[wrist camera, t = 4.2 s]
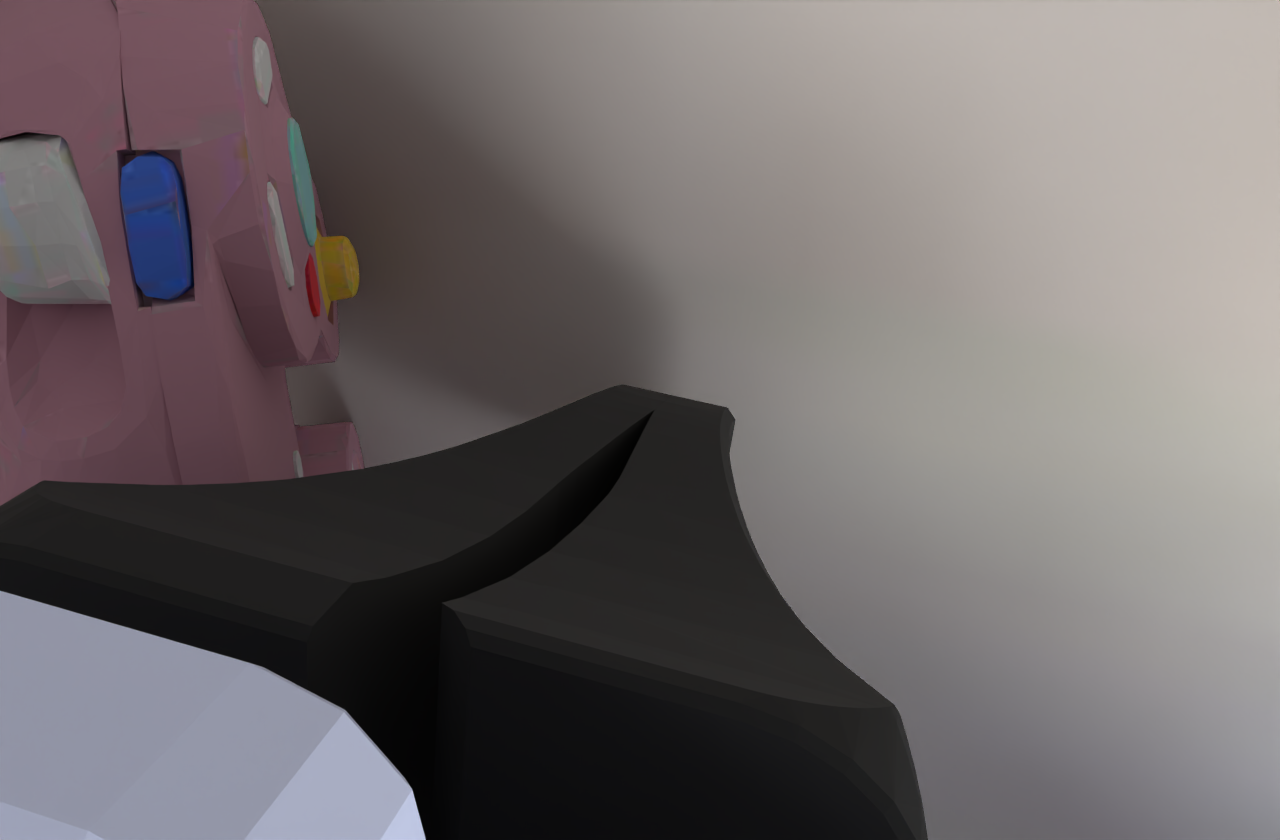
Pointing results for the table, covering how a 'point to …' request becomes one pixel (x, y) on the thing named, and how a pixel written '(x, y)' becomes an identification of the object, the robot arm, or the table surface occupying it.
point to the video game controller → (158, 250)
